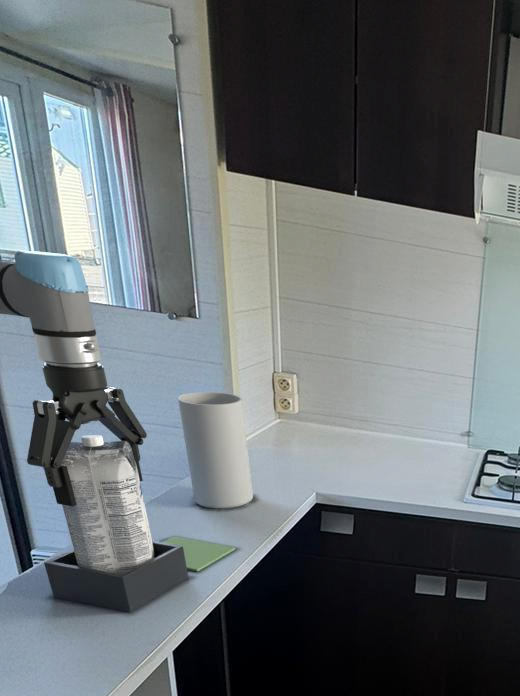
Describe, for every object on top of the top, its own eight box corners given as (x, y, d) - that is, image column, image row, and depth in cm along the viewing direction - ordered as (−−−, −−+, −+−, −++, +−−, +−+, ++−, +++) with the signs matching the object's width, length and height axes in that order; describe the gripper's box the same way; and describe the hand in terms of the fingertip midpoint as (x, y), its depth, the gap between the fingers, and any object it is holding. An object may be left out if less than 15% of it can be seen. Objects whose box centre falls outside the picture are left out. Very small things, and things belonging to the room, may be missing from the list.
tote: (53, 597, 109) (43, 562, 106) (119, 564, 121) (111, 532, 118) (130, 612, 108) (122, 577, 105) (188, 578, 120) (183, 546, 117)
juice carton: (156, 590, 113) (126, 446, 102) (83, 599, 108) (43, 447, 96) (159, 569, 120) (131, 431, 108) (90, 575, 115) (53, 432, 103)
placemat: (131, 559, 123) (131, 556, 123) (174, 538, 133) (173, 536, 133) (197, 571, 122) (197, 569, 122) (235, 549, 132) (234, 547, 132)
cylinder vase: (226, 487, 161) (213, 389, 150) (265, 498, 158) (254, 399, 147) (182, 501, 150) (164, 397, 139) (222, 513, 147) (207, 407, 136)
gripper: (16, 377, 86) (55, 520, 95) (156, 356, 108) (177, 474, 117) (-34, 369, 86) (10, 512, 96) (117, 350, 109) (140, 467, 118)
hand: (102, 491), depth 106 cm, fingers open, 12 cm apart
